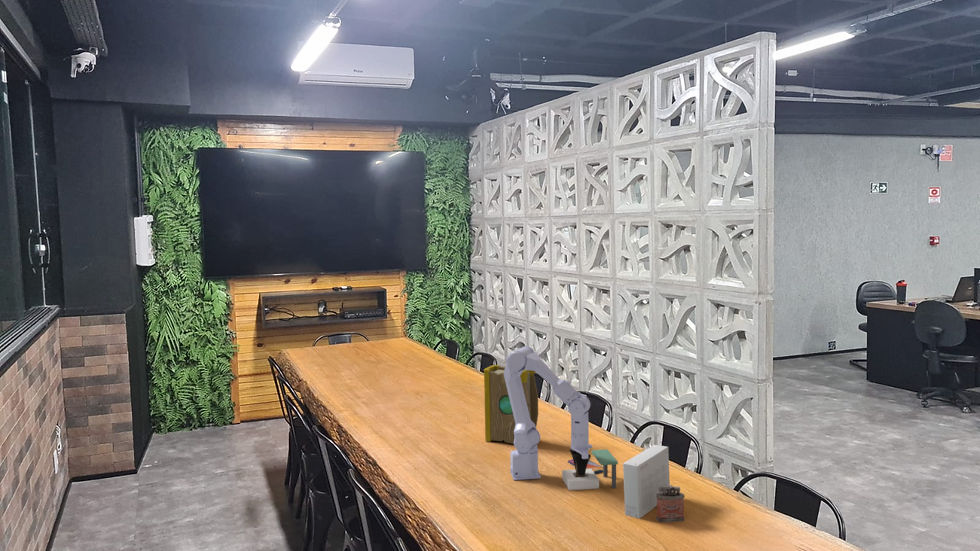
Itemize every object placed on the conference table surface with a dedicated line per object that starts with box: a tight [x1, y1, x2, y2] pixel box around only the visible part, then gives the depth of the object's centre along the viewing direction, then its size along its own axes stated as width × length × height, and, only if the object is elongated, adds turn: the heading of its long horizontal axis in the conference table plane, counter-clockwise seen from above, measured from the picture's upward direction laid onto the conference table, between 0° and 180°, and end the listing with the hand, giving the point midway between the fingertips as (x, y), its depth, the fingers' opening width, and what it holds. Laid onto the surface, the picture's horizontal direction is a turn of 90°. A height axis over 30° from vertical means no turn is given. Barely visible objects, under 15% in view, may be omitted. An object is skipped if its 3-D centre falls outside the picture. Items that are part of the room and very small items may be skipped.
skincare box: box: [622, 444, 671, 519], centre depth 209 cm, size 21×5×16 cm, turn 141°
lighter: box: [655, 484, 685, 523], centre depth 199 cm, size 8×3×10 cm, turn 92°
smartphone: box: [567, 459, 603, 475], centre depth 243 cm, size 7×15×1 cm, turn 26°
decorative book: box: [483, 364, 539, 445], centre depth 272 cm, size 20×11×30 cm, turn 63°
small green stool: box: [591, 449, 619, 489], centre depth 228 cm, size 6×12×9 cm, turn 6°
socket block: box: [561, 468, 600, 491], centre depth 227 cm, size 10×10×3 cm
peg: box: [576, 465, 585, 477], centre depth 227 cm, size 3×3×6 cm
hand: (580, 472), depth 227 cm, fingers closed on peg, 3 cm apart
